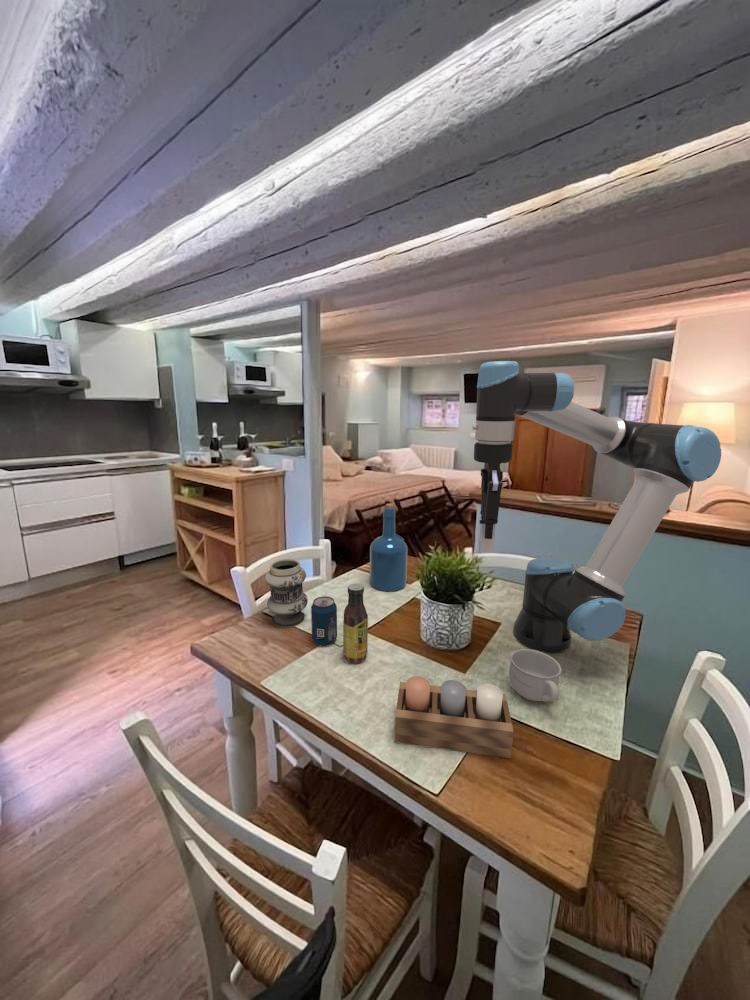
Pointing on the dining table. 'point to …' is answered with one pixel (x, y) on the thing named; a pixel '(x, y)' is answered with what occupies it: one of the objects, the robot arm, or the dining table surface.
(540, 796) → the dining table surface
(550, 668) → the teacup
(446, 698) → the grey rounded cylinder
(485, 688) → the white egg
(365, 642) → the sauce bottle
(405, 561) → the wine bottle
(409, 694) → the peach egg
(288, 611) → the apothecary jar
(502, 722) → the wooden compartment box
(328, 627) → the soda can
